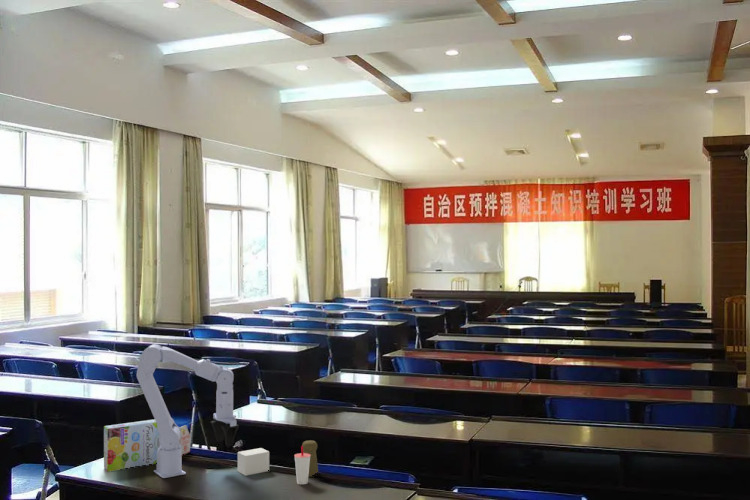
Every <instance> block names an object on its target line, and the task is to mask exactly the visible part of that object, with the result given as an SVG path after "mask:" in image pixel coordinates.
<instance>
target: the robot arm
mask: <svg viewBox="0 0 750 500" xmlns="http://www.w3.org/2000/svg"><path fill="white" fill-rule="evenodd" d="M160 362H161V363H162V364H166V363H171V362H172V363H175V364H177V365H180V366H183V367H186V368H188V369H191V370H193V371H194V372H195V373H194V374H195V375H196V376H198V377H201V378H203V379H206V380H207V381H211V382H213V383H214V382H216V392H215V393H216V397H215V399H216V403H215V404H216V405H215V406H216V407H215V411H216V412H214V413H213V415H212V416H213V418H212V419H213V420H211V421H210V424H211V426H212V428H213V431H214V436H215V439H216V443H217V442H218V443H219V442H220V443H221V442H225V446H226V447H231V446H233V445H234V441H235V437H236V434H237V431H239V428H240V425H239V424H237V419H236V418H237V415H236V414H234V384H233V383H234V377H235V375H234V372H233V370H231V369H230V368H229V367H226V366H224V365H222V364H220V365H218V364H216V363H214V362H211V359H209V358H207V359H204V358H203V359H200V360H197V359H194V358H192V357H190V356H188V355H186V354H184V353H182V352H179V351H177V350H175V349H172V348H170V347H167V346H164V345H163V346H162V345H160V344H157V343H153V344H151V345H148V347H146V348H144V350H143V351H142V352H141V354H140V356H139V358H138V364H137V365H138V366H137V370H136V374H135V375H136V379H137V381H138V383H139V387H140V388H141V390H142V392H143V395H144V398H145V400H146V402H147V403H148V406H149V409H150V411H151V414H152V416H153V418H154V419H155V421H156V423H157V427H158V432H159V435H160V440H159V441H160V448H159V449H158V451H157V464H156V469H154V470H153V473H155V474H156V475H158V476H159V477H161V478H162V479H166V478H167V479H168V478H172V477H173V478H174V477H177V476H182V475H186V474H187V472H186V471H184V470H182V460H183V459H182V456H183V455H182V445H181V444H180V442H179V439H180V438H181V435H182V432H181V429H180V426H178V424H176V422H175V420H174V419H173V417H171V414H170V412H169V410H168V407H167V405H166V402H165V401H164V398H163V395H162V394H161V391H160V388H159V386H158V384H157V382H156V380H155V377H154V373H155V370H156V368H157V366H158V365H159V363H160Z"/></svg>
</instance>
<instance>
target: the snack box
mask: <svg viewBox="0 0 750 500" xmlns="http://www.w3.org/2000/svg"><path fill="white" fill-rule="evenodd" d="M159 440H160V435H159V432H158V427H157V423H156V421H155V418H154V419H147V420H140V421H134V422H133V421H132V422H126V423H125V422H124V423H118V424H117V423H116V424H111V425H104V426H103V469H104V470H105V469H106V470H105V471H106V472H108V473H110V472H115V470H116V471H120V469H122V470H126V469H125V468H128V469H131V468H130V467H134V468H136V467H135V466H140V467H143V466H142V465H146V466H150V465H149V464H152V465H157V464H156V463H157V451H158V449H159V448H160V441H159Z"/></svg>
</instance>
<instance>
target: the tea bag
mask: <svg viewBox="0 0 750 500" xmlns="http://www.w3.org/2000/svg"><path fill="white" fill-rule="evenodd" d="M179 428H180V429H181V432H182V435H181V438H180V439H179V442H180V444H181V445H182V456H184V455H186V454H188V453H190V452H191V434H190V432H189V429H188V425H187V424H184V425H182V426H179ZM183 454H184V455H183Z"/></svg>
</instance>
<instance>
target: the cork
mask: <svg viewBox="0 0 750 500" xmlns="http://www.w3.org/2000/svg"><path fill="white" fill-rule="evenodd" d="M301 446H303V453H308V454H310V455H311V456H310V465H309V475H308V477H313V476H312V475H314V474H315V473H317V472H318V473H319V466H318V465H319V464H318V458H317V449H318V443H317V442H316V441H315V440H311V439H310V440H305V441H303V442H302V445H301Z"/></svg>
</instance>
